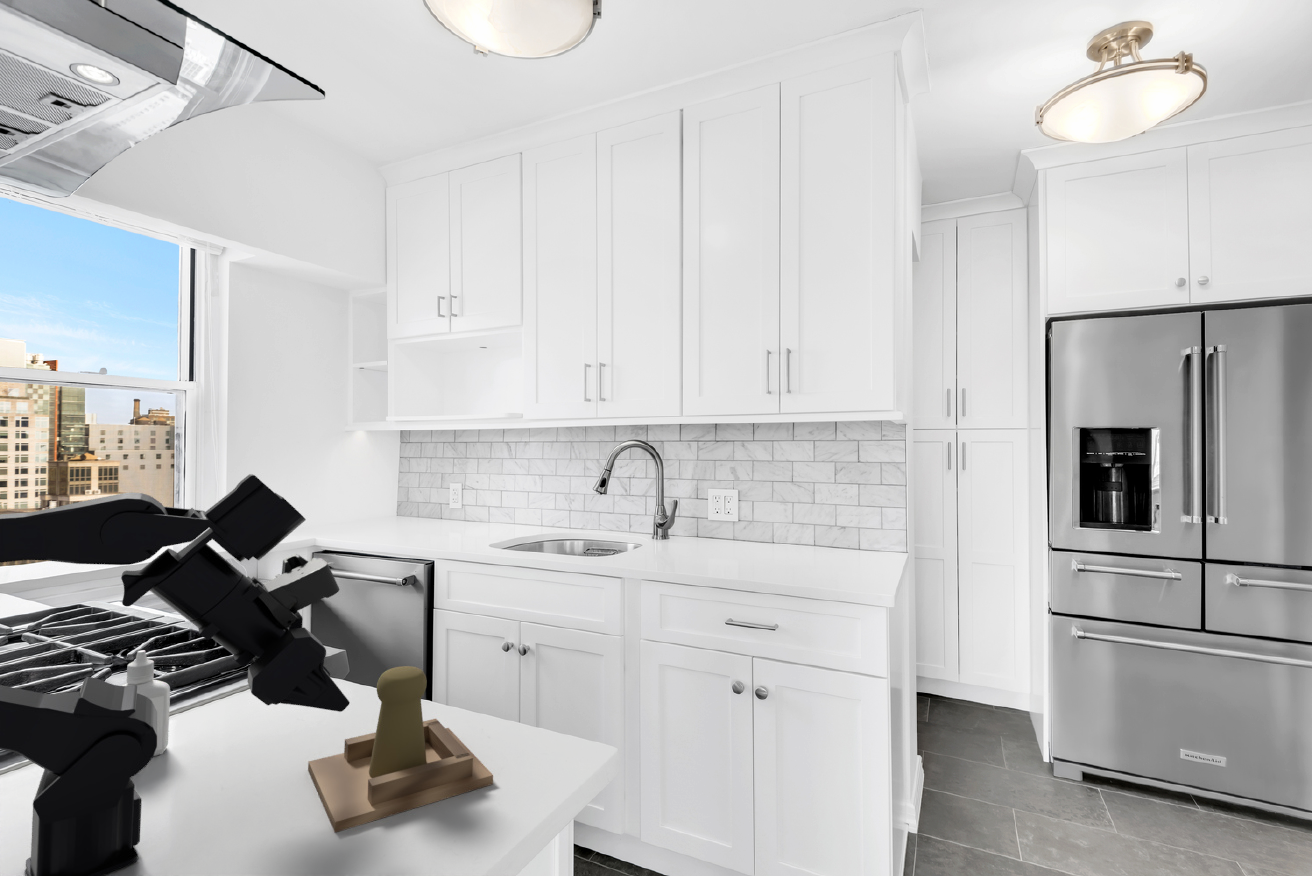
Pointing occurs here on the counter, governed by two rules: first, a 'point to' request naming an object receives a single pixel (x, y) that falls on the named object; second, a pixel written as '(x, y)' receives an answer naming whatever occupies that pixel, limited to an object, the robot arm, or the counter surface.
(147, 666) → the eye dropper bottle
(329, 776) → the seat
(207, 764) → the counter surface
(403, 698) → the olive pepper mill
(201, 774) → the counter surface
